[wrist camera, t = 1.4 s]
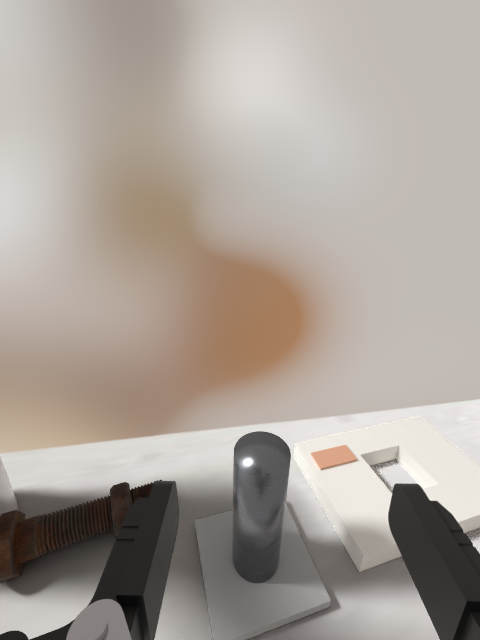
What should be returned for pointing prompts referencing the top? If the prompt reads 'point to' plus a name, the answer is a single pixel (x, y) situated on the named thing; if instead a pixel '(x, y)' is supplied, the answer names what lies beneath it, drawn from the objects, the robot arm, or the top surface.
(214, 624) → the mat
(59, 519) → the bolt
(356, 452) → the plate
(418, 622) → the top surface
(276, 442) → the cylinder
